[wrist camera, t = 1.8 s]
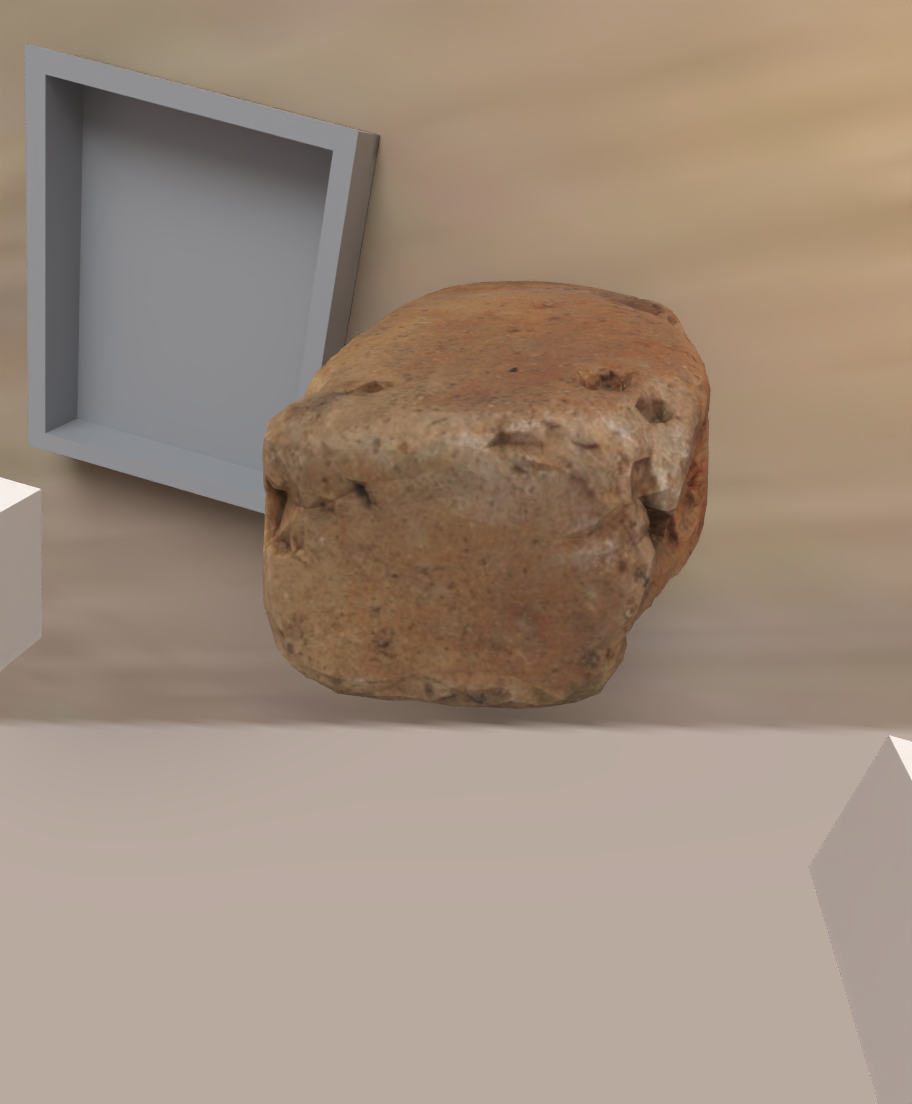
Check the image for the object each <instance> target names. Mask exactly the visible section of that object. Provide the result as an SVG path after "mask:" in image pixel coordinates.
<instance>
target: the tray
mask: <svg viewBox="0 0 912 1104" xmlns="http://www.w3.org/2000/svg"><path fill="white" fill-rule="evenodd" d="M25 134H26V240H27V346H28V445H30V446H33V447H37V448H40V449H44V450H47V451H51V452H54V453H58V454H61V455H64V456H68V457H71V458H75V459H78V460H82V461H85V462H88V463H92V464H95V465H99V466H102V467H106V468H109V469H113V470H116V471H119V472H123V473H126V474H130V475H133V476H137V477H140V478H143V479H147V480H150V481H154V482H157V483H161V484H164V485H167V486H171V487H174V488H178V489H181V490H185V491H188V492H192V493H195V494H198V495H202V496H205V497H209V498H212V499H216V500H219V501H222V502H226V503H229V504H233V505H236V506H240V507H243V508H247V509H250V510H253V511H257V512H260V513H264V514H265V498H266V492H265V489H264V485H263V462H262V454H263V440H264V436H265V433H266V429H267V426H268V422H269V420H270V419H271V418H272V417H274V416H275V415H276V414H277V413H279V412H280V411H281V410H282V409H284V408H285V407H286V406H287V405H288V404H290V403H291V402H294V401H296V400H299V399H301V398H303V397H304V395H305V393H306V391H307V388H308V386H309V384H310V382H311V380H312V378H313V376H314V373H316V372H317V371H318V370H319V369H320V368H322V367H323V366H324V365H326V363H327V362H328V361H329V359H330V358H331V357H333V356H334V355H336V354H337V353H339V351H340V350H341V349H342V348H343V347H344V346H345V340H346V334H347V328H348V322H349V317H350V311H351V305H352V299H353V293H354V287H355V281H356V275H357V269H358V263H359V257H360V251H361V245H362V239H363V233H364V228H365V222H366V216H367V210H368V204H369V198H370V192H371V186H372V180H373V174H374V168H375V162H376V156H377V150H378V145H379V139H380V135H377V134H373V133H369V132H365V131H361V130H358V129H354V128H350V127H346V126H342V125H339V124H335V123H331V122H327V121H323V120H320V119H316V118H312V117H308V116H304V115H301V114H297V113H293V112H289V111H285V110H282V109H278V108H274V107H270V106H266V105H262V104H259V103H255V102H251V101H247V100H243V99H240V98H236V97H232V96H228V95H224V94H221V93H217V92H213V91H209V90H205V89H202V88H198V87H194V86H190V85H186V84H183V83H179V82H175V81H171V80H167V79H164V78H160V77H156V76H152V75H148V74H145V73H141V72H137V71H133V70H129V69H125V68H122V67H118V66H114V65H110V64H106V63H103V62H99V61H95V60H91V59H87V58H84V57H80V56H76V55H72V54H68V53H63V52H59V51H54V50H50V49H45V48H41V47H37V46H32V45H28V44H25Z"/></svg>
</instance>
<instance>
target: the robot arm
mask: <svg viewBox="0 0 912 1104" xmlns="http://www.w3.org/2000/svg"><path fill="white" fill-rule="evenodd" d="M41 637H42V596H41V489H38V488H35V487H32V486H28V485H25V484H21V483H18V482H14V481H11V480H7V479H4V478H0V671H1V670H2V669H4V668H5V667H6V666H7V665H9V664H10V663H11V662H12V661H13V660H15V659H16V658H17V657H18V656H19V655H21V654H22V653H23V652H24V651H25V650H27V649H28V648H29V647H30V646H31V645H33V644H34V643H35V642H36V641H38V640H39V639H40V638H41ZM809 869H810V872H811V875H812V879H813V883H814V886H815V889H816V893H817V896H818V900H819V903H820V906H821V910H822V913H823V916H824V920H825V923H826V927H827V930H828V933H829V937H830V940H831V944H832V947H833V951H834V954H835V958H836V961H837V964H838V968H839V971H840V975H841V978H842V981H843V985H844V988H845V992H846V995H847V998H848V1002H849V1005H850V1008H851V1012H852V1015H853V1019H854V1022H855V1025H856V1029H857V1032H858V1036H859V1039H860V1043H861V1046H862V1049H863V1053H864V1056H865V1060H866V1063H867V1067H868V1070H869V1073H870V1077H871V1080H872V1084H873V1087H874V1090H875V1094H876V1097H877V1101H878V1104H912V742H911V741H907V740H904V739H900V738H897V737H893V736H890V735H889V736H888V738H887V739H886V741H885V743H884V744H883V746H882V748H881V749H880V751H879V752H878V754H877V756H876V757H875V759H874V761H873V762H872V764H871V765H870V767H869V769H868V770H867V772H866V774H865V775H864V777H863V779H862V780H861V782H860V783H859V785H858V787H857V789H856V790H855V792H854V794H853V795H852V797H851V798H850V800H849V802H848V803H847V805H846V806H845V808H844V810H843V812H842V813H841V815H840V816H839V818H838V820H837V821H836V823H835V825H834V826H833V828H832V829H831V831H830V833H829V834H828V836H827V838H826V840H825V841H824V843H823V844H822V846H821V847H820V849H819V851H818V852H817V854H816V856H815V857H814V859H813V861H812V862H811V864H810V866H809Z"/></svg>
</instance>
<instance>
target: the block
mask: <svg viewBox="0 0 912 1104" xmlns="http://www.w3.org/2000/svg"><path fill="white" fill-rule="evenodd" d="M709 403H710V385H709V381H708V377H707V374H706V370H705V366H704V363H703V362H702V360H701V358H700V356H699V354H698V353H697V351H696V349H695V346H694V345H693V344H692V343H691V341H690V340H689V339H688V338H687V336H686V333H685V331H684V329H683V327H682V325H681V323H680V321H679V320H678V318H677V317H676V315H675V314H674V313H673V311H672V310H670V309H668V308H667V307H665V306H663V305H662V304H660V303H657V302H654V301H650V300H644V299H638V298H636V297H633V296H629V295H624V294H620V293H615V292H611V291H606V290H602V289H597V288H591V287H585V286H578V285H570V284H563V283H554V282H537V281H506V282H480V283H473V284H466V285H459V286H452V287H449V288H445V289H441V290H439V291H436V292H433V293H430V294H427V295H425V296H423V297H421V298H419V299H417V300H414V301H412V302H410V303H408V304H406V305H404V306H402V307H401V308H398V309H397V310H395V311H393V312H392V313H390V314H389V315H387V316H385V317H384V319H383V320H382V321H380V322H379V323H377V324H375V325H374V326H372V327H370V328H369V329H367V330H366V331H364V332H363V333H361V334H360V335H358V336H357V337H355V338H353V339H352V340H351V341H350V342H349V343H348V344H347V345H346V346H344V347H343V348H342V349H341V350H340V351H339V353H337V354H336V355H334V356H333V357H331V358H330V359H329V361H328V362H327V363H326V365H324V366H323V367H322V368H320V369H319V370H318V371H317V372H316V373H314V376H313V378H312V380H311V382H310V384H309V386H308V388H307V391H306V393H305V395H304V397H303V398H301V399H299V400H296V401H294V402H291V403H290V404H288V405H287V406H286V407H285V408H284V409H282V410H281V411H280V412H279V413H277V414H276V415H275V416H274V417H272V418H271V419H270V420H269V422H268V426H267V429H266V433H265V436H264V440H263V454H262V462H263V485H264V489H265V492H266V498H265V522H264V546H263V585H264V606H265V609H266V613H267V616H268V619H269V622H270V626H271V629H272V632H273V635H274V639H275V642H276V645H277V648H278V650H279V651H280V653H281V654H282V655H283V656H284V658H285V659H286V660H287V661H288V662H289V664H290V665H291V666H292V667H294V668H295V669H296V670H298V671H299V672H300V673H302V674H303V675H304V676H306V677H308V678H310V679H313V680H315V681H317V682H319V683H320V684H322V685H324V686H326V687H327V688H329V689H331V690H333V691H334V692H336V693H338V694H346V695H354V696H361V697H369V698H376V699H384V700H417V701H424V702H431V703H438V704H445V705H453V706H476V707H497V708H532V707H546V706H556V705H561V704H567V703H573V702H578V701H580V700H583V699H585V698H588V697H590V696H593V695H596V694H598V693H600V692H601V690H602V689H603V687H604V686H605V684H606V683H607V681H608V680H609V679H610V677H611V676H612V674H613V673H614V672H615V670H616V669H617V667H618V666H619V665H620V663H621V662H622V660H623V657H624V653H625V650H626V646H627V643H626V635H627V633H628V632H629V631H630V629H631V628H632V626H633V624H634V622H635V621H636V620H637V618H638V617H639V616H640V615H641V614H642V613H643V612H644V611H645V609H647V608H648V607H650V606H651V605H652V602H653V600H654V598H655V597H657V596H658V595H659V594H660V592H661V591H662V589H663V588H664V587H665V585H666V584H667V582H668V581H669V579H670V578H672V577H674V576H676V575H677V574H678V573H679V572H680V571H681V569H682V568H683V566H684V565H685V564H686V562H687V560H688V558H689V557H690V555H691V553H692V551H693V550H694V548H695V546H696V545H697V543H698V541H699V537H700V534H701V531H702V528H703V525H704V517H705V511H706V505H707V489H708V452H709V451H708V436H709V420H708V411H709Z"/></svg>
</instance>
